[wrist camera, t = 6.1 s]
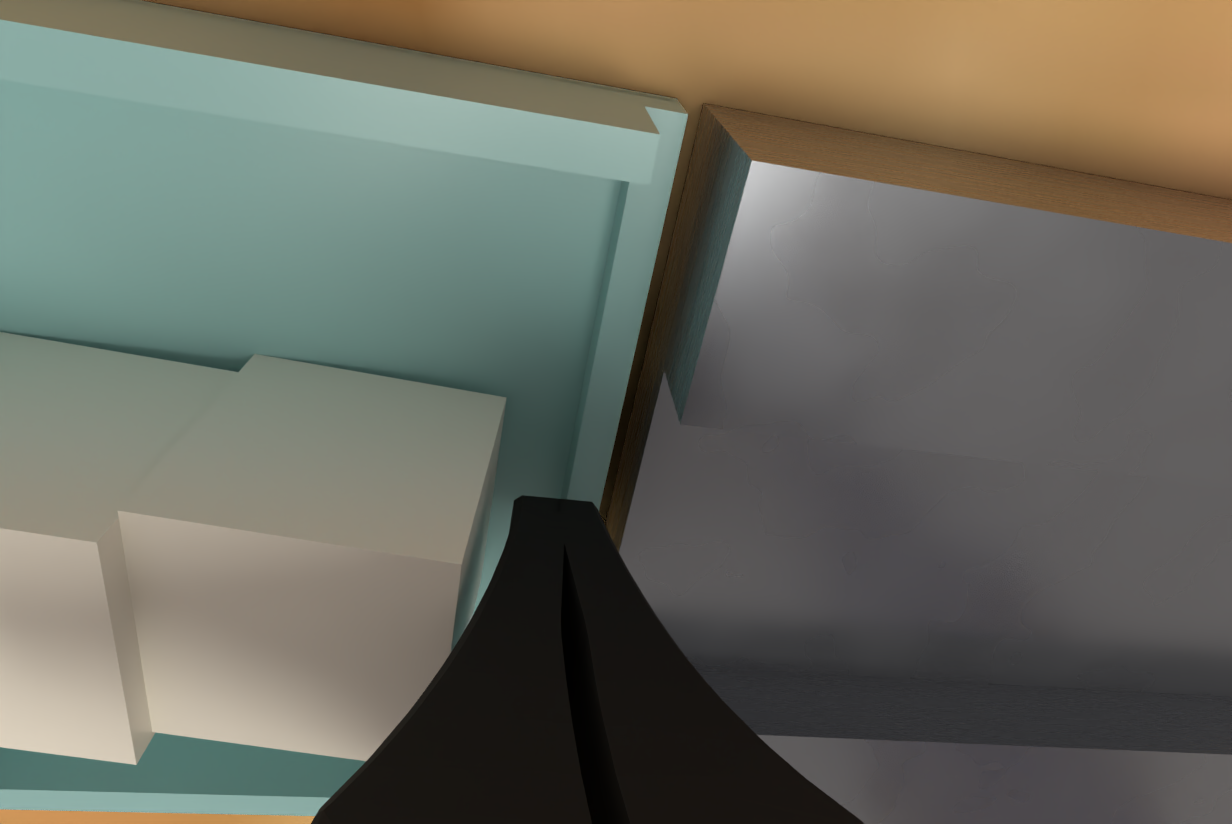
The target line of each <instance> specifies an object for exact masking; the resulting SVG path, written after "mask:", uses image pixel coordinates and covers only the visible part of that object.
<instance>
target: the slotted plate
mask: <svg viewBox="0 0 1232 824" xmlns="http://www.w3.org/2000/svg"><path fill="white" fill-rule="evenodd" d="M605 526H606V528H607V530H608V532H609V534H610V536H611V538H612V540H613V542H614V544H615V546H616V548H617V550H618V552H619V554H620V556H621V558H622V559H623V561H624V563H625V565H626V567H627V568H628V570H629V572H630V574H631V575H632V577H633V579H634V580H635V582H636V584H637V585H638V587H639V589H640V590H641V592H642V594H643V595H644V597H645V599H646V600H647V602H648V603H649V605H650V606H651V608H652V609H653V611H654V613H655V614H656V616H657V617H658V619H659V620H660V621H661V623H662V624H663V626H664V627H665V629H666V630H667V632H668V633H669V634H670V636H671V637H672V639H673V640H674V641H675V643H676V644H677V645H678V647H679V648H680V650H681V651H682V652H683V653H684V655H685V656H686V657H687V659H688V660H689V661H690V662H691V664H692V665H693V666H694V667H695V669H696V670H697V671H698V672H699V673H700V675H701V676H702V677H703V678H704V679H705V681H706V682H707V683H708V684H709V685H710V686H711V688H712V689H713V690H714V691H715V692H716V693H717V694H718V695H719V697H720V698H721V699H722V700H723V701H724V702H725V703H726V704H727V705H728V706H729V707H730V708H731V709H732V710H733V711H734V712H735V713H736V714H737V715H738V716H739V717H740V718H741V719H742V720H743V721H744V722H745V723H746V724H747V725H748V726H749V727H750V728H751V729H752V730H753V731H754V732H755V733H756V734H757V735H758V736H759V737H760V738H761V739H762V740H763V741H764V742H765V743H766V744H767V745H768V746H769V747H770V748H771V749H773V750H774V751H775V752H776V753H777V754H778V755H779V756H781V757H782V758H783V759H784V760H785V761H786V762H788V763H789V764H790V765H791V766H792V767H793V768H794V769H796V770H797V771H798V772H799V773H800V774H801V775H803V776H804V777H805V778H806V779H807V780H809V781H810V782H811V783H813V784H814V785H815V786H817V787H818V788H819V789H820V790H822V791H823V792H824V793H826V794H827V795H828V796H830V797H831V798H832V799H834V800H835V801H836V802H838V803H839V804H840V805H841V806H843V807H844V808H845V809H847V810H848V811H849V812H851V813H852V814H853V815H855V816H856V817H857V818H859V819H860V820H861V821H862V822H863V823H864V824H1232V200H1229V199H1223V198H1218V197H1212V196H1207V195H1201V194H1196V193H1190V192H1185V191H1179V190H1174V189H1169V188H1163V187H1158V186H1152V185H1147V184H1141V183H1136V182H1130V181H1125V180H1119V179H1114V178H1108V177H1103V176H1098V175H1092V174H1087V173H1081V172H1076V171H1070V170H1065V169H1059V168H1054V167H1048V166H1043V165H1037V164H1032V163H1027V162H1021V161H1016V160H1010V159H1005V158H999V157H994V156H988V155H983V154H977V153H972V152H966V151H961V150H956V149H950V148H945V147H939V146H934V145H928V144H923V143H917V142H912V141H906V140H901V139H895V138H890V137H884V136H879V135H874V134H868V133H863V132H857V131H852V130H846V129H841V128H835V127H830V126H824V125H819V124H813V123H808V122H803V121H797V120H792V119H786V118H781V117H775V116H770V115H764V114H759V113H753V112H748V111H742V110H737V109H732V108H726V107H721V106H715V105H710V104H704V103H703V108H702V112H701V116H700V121H699V125H698V129H697V133H696V138H695V142H694V146H693V151H692V155H691V159H690V163H689V168H688V172H687V176H686V181H685V185H684V189H683V194H682V198H681V202H680V206H679V211H678V215H677V219H676V224H675V228H674V232H673V236H672V241H671V245H670V249H669V254H668V258H667V262H666V266H665V271H664V275H663V279H662V284H661V288H660V292H659V297H658V301H657V305H656V309H655V314H654V318H653V322H652V327H651V331H650V335H649V339H648V344H647V348H646V352H645V357H644V361H643V365H642V370H641V374H640V378H639V382H638V387H637V391H636V395H635V400H634V404H633V408H632V412H631V417H630V421H629V425H628V430H627V434H626V438H625V442H624V447H623V451H622V455H621V460H620V464H619V468H618V473H617V477H616V481H615V485H614V490H613V494H612V498H611V503H610V507H609V511H608V515H607V520H606V524H605Z"/></svg>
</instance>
